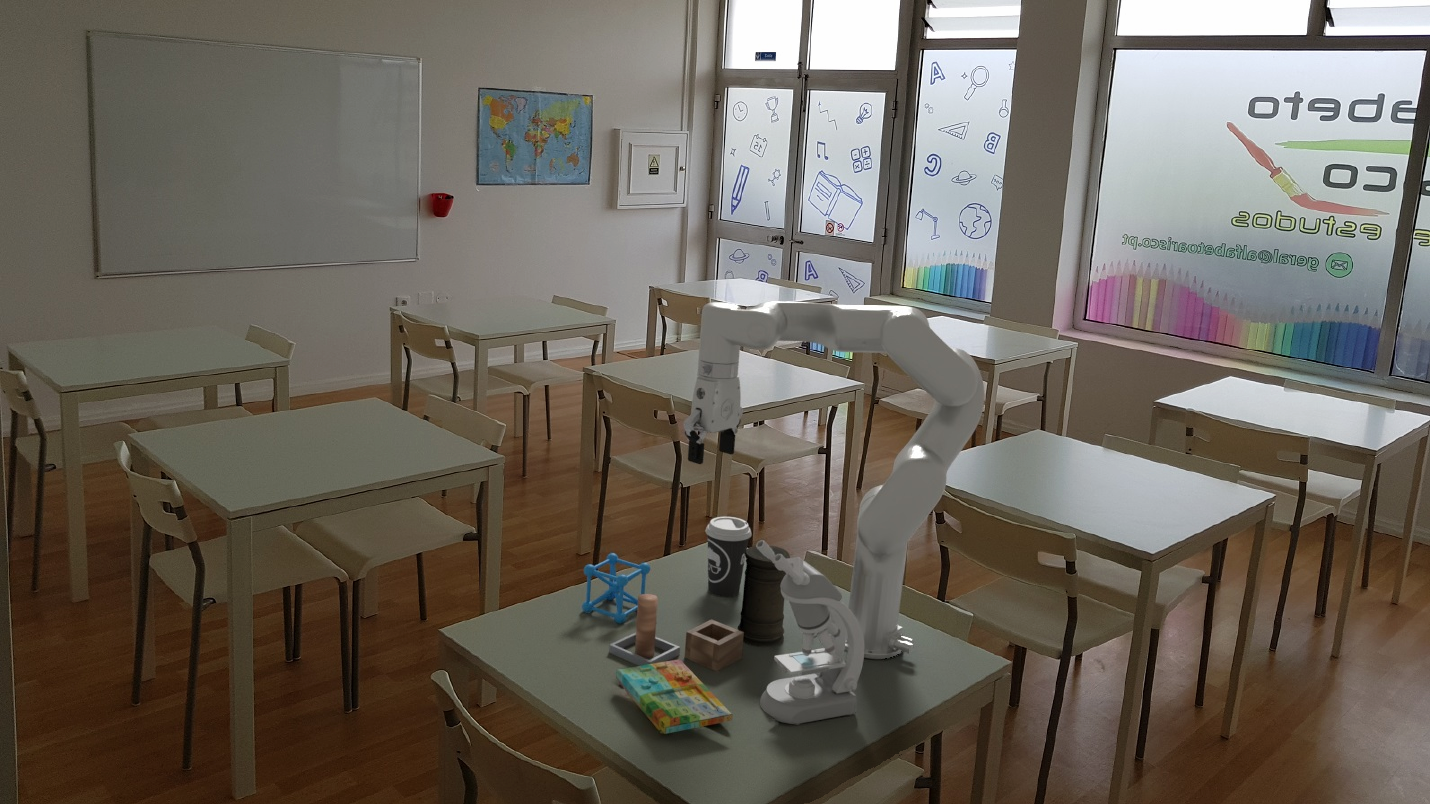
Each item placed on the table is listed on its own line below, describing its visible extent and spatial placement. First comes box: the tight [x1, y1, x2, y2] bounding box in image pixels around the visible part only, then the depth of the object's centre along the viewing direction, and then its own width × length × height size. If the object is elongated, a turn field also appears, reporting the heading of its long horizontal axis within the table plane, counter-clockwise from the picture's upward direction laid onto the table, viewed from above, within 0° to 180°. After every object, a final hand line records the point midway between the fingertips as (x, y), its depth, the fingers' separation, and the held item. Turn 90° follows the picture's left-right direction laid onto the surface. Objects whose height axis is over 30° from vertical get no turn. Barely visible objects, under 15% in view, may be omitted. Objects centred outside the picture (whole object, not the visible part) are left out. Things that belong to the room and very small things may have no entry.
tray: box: [608, 631, 681, 666], centre depth 204 cm, size 10×8×2 cm
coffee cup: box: [705, 516, 752, 598], centre depth 235 cm, size 10×10×15 cm
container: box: [737, 544, 791, 648], centre depth 213 cm, size 9×9×18 cm
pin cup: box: [684, 619, 744, 672], centre depth 204 cm, size 7×7×6 cm
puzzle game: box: [615, 658, 733, 735], centre depth 187 cm, size 12×5×20 cm
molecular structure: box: [581, 552, 651, 624], centre depth 222 cm, size 10×10×10 cm
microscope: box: [755, 539, 865, 726], centre depth 187 cm, size 11×19×30 cm, turn 116°
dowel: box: [634, 593, 659, 659], centre depth 203 cm, size 4×4×11 cm
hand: (711, 457), depth 214 cm, fingers open, 9 cm apart
